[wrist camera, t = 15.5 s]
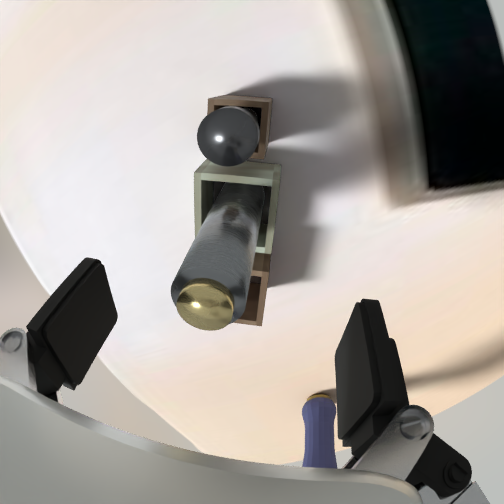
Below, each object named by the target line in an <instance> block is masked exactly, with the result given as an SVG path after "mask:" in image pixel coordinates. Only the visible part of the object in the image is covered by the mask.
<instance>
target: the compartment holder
mask: <svg viewBox="0 0 504 504" xmlns="http://www.w3.org/2000/svg"><path fill="white" fill-rule="evenodd" d="M227 106H245V107H258V108H262V113H261V125H260V138H259V142H258V144H257V147H256V149H255V151H254V153H253V154H252V156H251V157H250V158H254V159H264V157H265V154H266V150H267V146H268V141H269V131H270V120H271V109H272V98H264V97H251V96H235V95H223V96H218V97H213V98H209V99H208V113H207V115H208V114H210V113H211V112H213V111H215V110H218V109H220V108H223V107H227ZM280 176H281V165H278V164H269V163H260V162H249V161H245V162H243V163H241V164H239V165H236V166H230V167H226V166H220V165H217V164H214V163H213V162H211V161H210V160H208V159H206V160H205V161H204V162H203V163H202V165H201V166H200V167H199V168H198V169H197V170H196V171H195V172H194V214H195V238H196V236H197V234H198V232H199V230H200V228H201V226H202V225H203V223H204V221H205V219H206V217H207V215H208V213H209V212H210V210H211V208H212V206H213V181H222V182H233V183H243V184H253V185H263V186H272V190H271V199H270V208H269V217H268V224H264V223H260V227H259V233H258V239H257V245H256V250H255V256H254V262H253V267H252V273H251V276H259V277H262V278H261V284H256V283H250V285H249V290H248V296H247V302H246V307H245V311H244V313H243V314H242V316H241V317H240V318H239V319H238V320H236V321H235V322H233V323H240V324H248V325H256V326H262V320H263V313H264V306H265V299H266V292H267V284H268V277H269V268H270V258H271V251H272V244H273V236H274V228H275V220H276V212H277V204H278V195H279V187H280Z"/></svg>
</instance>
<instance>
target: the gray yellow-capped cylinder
mask: <svg viewBox="0 0 504 504" xmlns="http://www.w3.org/2000/svg"><path fill="white" fill-rule="evenodd" d="M264 199H265V192H264V189H263V187H262V185H253V184H243V183H233V182H226V183H225V184H224V186H223V188H222V190H221V191H220V193H219V195H218V197H217V199H216V201H215V202H214V204H213V206H212V208H211V210H210V212H209V213H208V215H207V217H206V219H205V221H204V223H203V225H202V226H201V228H200V230H199V232H198V234H197V236H196V238H195V240H194V242H193V244H192V245H191V247H190V249H189V251H188V253H187V255H186V257H185V259H184V261H183V263H182V265H181V267H180V269H179V271H178V273H177V275H176V277H175V279H174V281H173V283H172V286H171V296H172V300H173V302H174V304H175V306H176V307H177V311H178V313H179V315H180V316H181V317H182V318H183V320H185V321H186V322H187V323H188V324H190V325H192V326H194V327H196V328H199V329H202V330H219V329H222V328H224V327H225V326H227V325H228V324H231V323H233V322H235V321H236V320H238V319H239V318H240V317H241V316H242V314H243V313H244V311H245V307H246V302H247V296H248V290H249V285H250V279H251V273H252V267H253V262H254V256H255V250H256V245H257V239H258V233H259V227H260V222H261V216H262V210H263V205H264Z"/></svg>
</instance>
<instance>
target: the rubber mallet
mask: <svg viewBox="0 0 504 504" xmlns="http://www.w3.org/2000/svg"><path fill="white" fill-rule="evenodd" d="M335 415H336V406H335V404H334V403H333V401H332V400H331V399H330V397H329V396H327V395H323V394H319V395H313V396H310V397H309V398H308V399H307V402H306V403H305V405H304V406H303V409H302V416H303V420H304V423H305V454H304V460H303V466H302V467H312V468H335V469H337V463H336V457H335V449H334V419H335Z"/></svg>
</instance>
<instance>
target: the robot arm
mask: <svg viewBox="0 0 504 504" xmlns="http://www.w3.org/2000/svg"><path fill="white" fill-rule="evenodd" d="M117 318H118V315H117V311H116V308H115V304H114V301H113V297H112V294H111V290H110V287H109V283H108V279H107V275H106V272H105V268H104V265H103V264H101V261H100V260H98V259H93V258H88V257H87V258H85V259H84V260H83V261H82V262H81V263H80V264H79V265H78V266H77V267H76V268H75V269H74V270H73V271H72V273H71V274H70V275H69V276H68V277H67V278H66V279H65V280H64V281H63V283H62V284H61V285H60V286H59V287H58V288H57V289H56V291H55V292H54V293H53V294H52V295H51V296H50V298H49V299H48V300H47V301H46V302H45V304H44V305H43V306H42V307H41V309H40V310H39V311H38V312H37V313H36V315H35V316H34V317H33V318H32V320H31V321H30V322H29V324H28V325H27V326H26V327H27V329H28V332H27V333H25V331H24V330H22V329H21V328H12V329H10V330H8V331H6V332H5V333H4V334H3V335H2V336H1V337H0V504H490V503H489V501H488V500H487V498H486V497H485V495H484V493H483V492H482V490H481V489H480V487H479V486H478V484H477V483H476V481H474V482H472V481H471V474H472V470H471V466H470V463H469V461H468V460H467V459H466V458H465V457H464V456H462V455H461V454H459V453H458V452H457V451H456V450H454V449H453V448H452V447H451V446H449V445H448V444H447V443H445V442H444V441H443V440H442V439H440V438H439V437H438V436H436V435H435V434H434V433H433V431H434V422H433V418H432V417H431V415H430V413H429V412H428V411H427V410H426V409H424V408H422V407H420V406H418V405H409V401H408V395H407V390H406V386H405V381H404V376H403V372H402V367H401V363H400V359H399V355H398V351H397V347H396V343H395V341H394V340H393V338H389V336H388V332H387V328H386V324H385V320H384V317H383V313H382V309H381V306H380V303H379V301H378V300H371V299H362V300H361V302H360V303H359V302H357V303H356V304H355V307H354V309H353V312H352V314H351V317H350V319H349V322H348V324H347V326H346V329H345V331H344V334H343V336H342V338H341V341H340V343H339V345H338V348H337V350H336V353H335V371H336V390H337V418H338V438H339V439H342V440H343V447H351V449H352V455H353V456H352V458H351V459H350V460H349V461H348V462H347V463H346V464H345V466H343V468H342V469H335V468H312V467H295V466H284V465H274V464H264V463H256V462H248V461H242V460H235V459H229V458H224V457H218V456H213V455H208V454H204V453H199V452H195V451H190V450H186V449H182V448H178V447H174V446H171V445H167V444H163V443H160V442H156V441H153V440H150V439H146V438H143V437H140V436H137V435H135V434H131V433H128V432H126V431H123V430H120V429H118V428H115V427H112V426H110V425H107V424H104V423H102V422H100V421H97V420H95V419H92V418H90V417H88V416H85V415H83V414H81V413H79V412H76V411H74V410H72V409H70V408H68V407H66V406H64V405H63V401H62V395H61V390H60V387H61V386H62V384H63V385H64V386H65V387H67V388H70V389H72V390H75V388H76V386H77V385H79V384H81V382H82V380H83V379H84V377H85V375H86V373H87V371H88V370H89V368H90V366H91V364H92V363H93V361H94V359H95V357H96V356H97V354H98V352H99V350H100V349H101V347H102V345H103V344H104V342H105V340H106V338H107V337H108V335H109V333H110V332H111V330H112V328H113V327H114V325H115V324H116V322H117Z"/></svg>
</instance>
